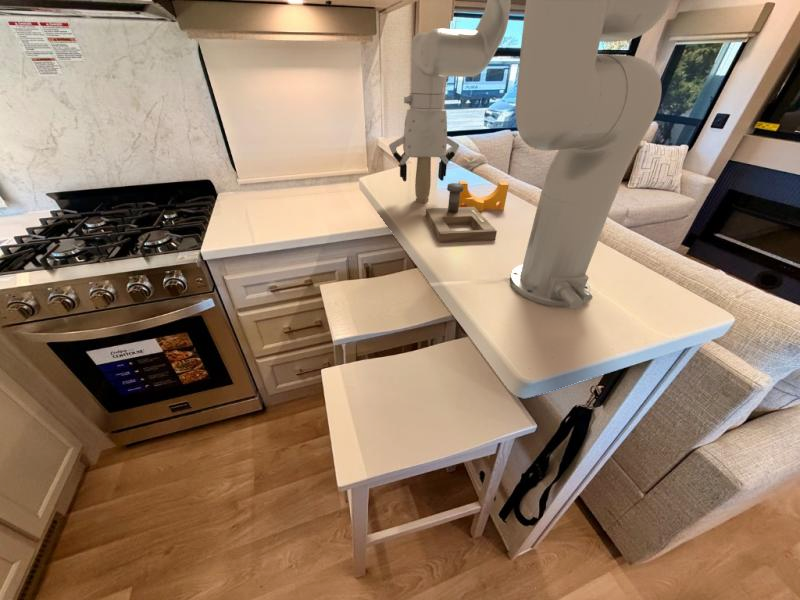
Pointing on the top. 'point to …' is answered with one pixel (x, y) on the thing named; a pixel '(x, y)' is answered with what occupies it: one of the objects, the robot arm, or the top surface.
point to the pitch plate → (459, 220)
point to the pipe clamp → (484, 198)
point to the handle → (423, 179)
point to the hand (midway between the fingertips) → (422, 179)
